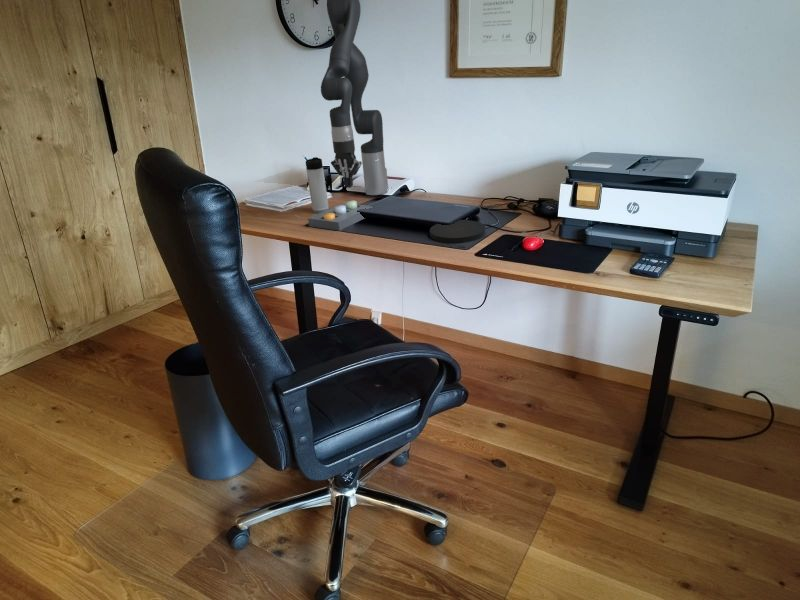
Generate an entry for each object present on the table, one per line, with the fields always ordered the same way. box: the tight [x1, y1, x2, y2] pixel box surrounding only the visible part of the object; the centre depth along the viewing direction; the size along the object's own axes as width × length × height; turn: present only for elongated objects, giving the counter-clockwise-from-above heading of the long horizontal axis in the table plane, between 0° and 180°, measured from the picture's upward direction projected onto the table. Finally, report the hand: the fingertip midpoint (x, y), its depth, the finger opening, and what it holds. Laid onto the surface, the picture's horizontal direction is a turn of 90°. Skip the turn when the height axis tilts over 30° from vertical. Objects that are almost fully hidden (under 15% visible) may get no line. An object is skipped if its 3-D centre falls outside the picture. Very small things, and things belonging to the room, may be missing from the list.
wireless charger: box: [429, 219, 486, 244], centre depth 179 cm, size 18×18×2 cm
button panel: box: [307, 202, 374, 232], centre depth 203 cm, size 20×14×3 cm
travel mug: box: [305, 156, 330, 214], centre depth 213 cm, size 6×7×20 cm
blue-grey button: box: [334, 204, 346, 215], centre depth 202 cm, size 4×4×4 cm
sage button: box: [345, 199, 358, 210], centre depth 207 cm, size 4×4×4 cm
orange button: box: [323, 213, 335, 220], centre depth 198 cm, size 4×4×4 cm
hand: (349, 187), depth 204 cm, fingers closed
